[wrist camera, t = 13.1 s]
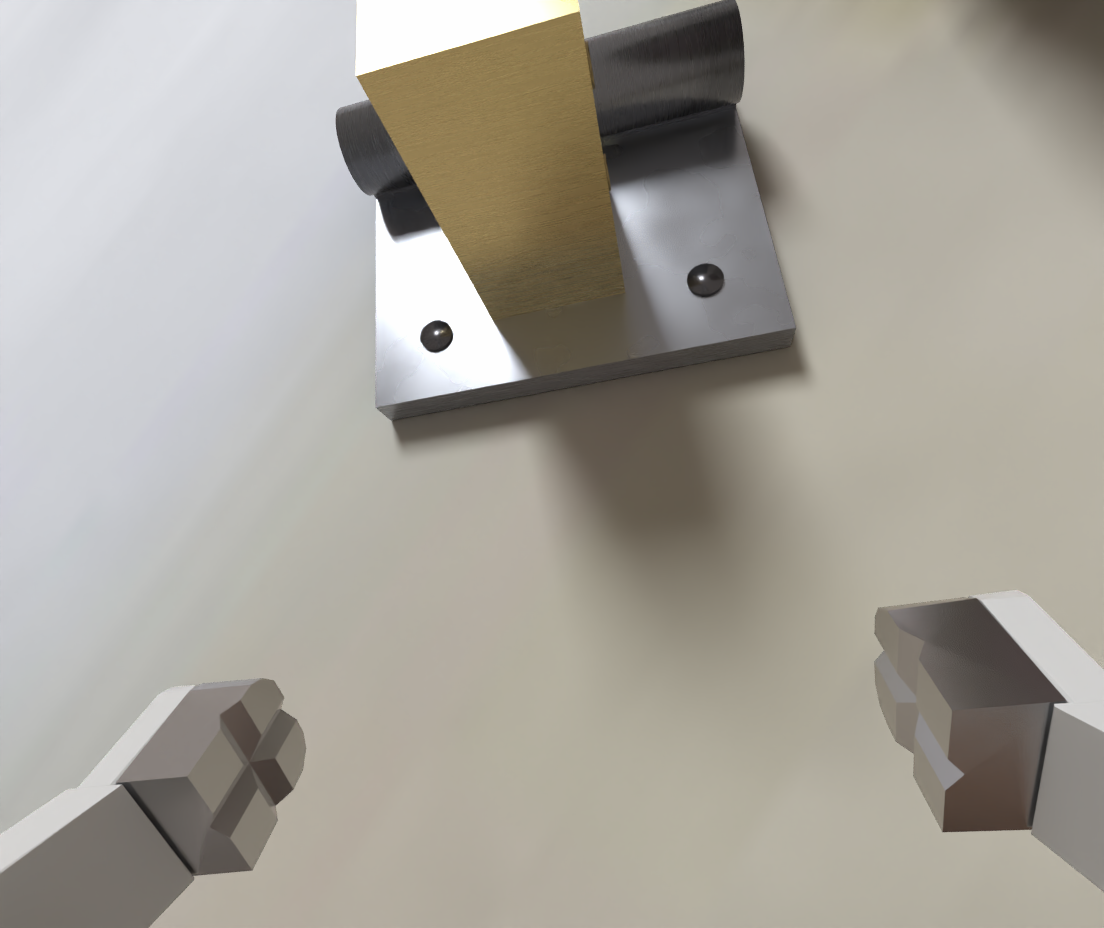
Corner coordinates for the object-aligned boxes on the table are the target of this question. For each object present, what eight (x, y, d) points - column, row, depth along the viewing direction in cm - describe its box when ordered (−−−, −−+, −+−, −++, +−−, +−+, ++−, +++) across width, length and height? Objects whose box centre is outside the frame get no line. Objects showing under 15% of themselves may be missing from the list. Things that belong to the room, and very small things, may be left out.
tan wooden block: (627, 291, 17) (583, 9, 10) (492, 320, 18) (356, 75, 11) (610, 183, 19) (559, -136, 11) (484, 214, 19) (359, -69, 12)
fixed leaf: (789, 346, 17) (815, 266, 13) (391, 420, 19) (327, 366, 15) (721, 87, 20) (727, -27, 17) (389, 173, 22) (336, 85, 19)
